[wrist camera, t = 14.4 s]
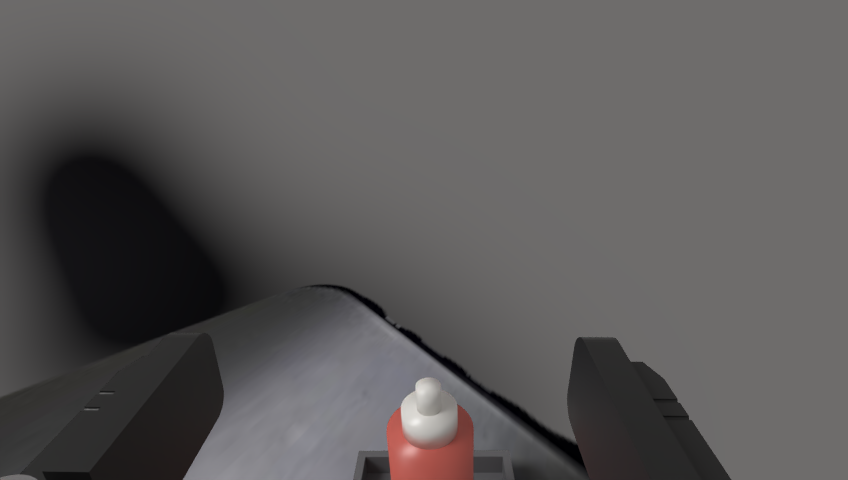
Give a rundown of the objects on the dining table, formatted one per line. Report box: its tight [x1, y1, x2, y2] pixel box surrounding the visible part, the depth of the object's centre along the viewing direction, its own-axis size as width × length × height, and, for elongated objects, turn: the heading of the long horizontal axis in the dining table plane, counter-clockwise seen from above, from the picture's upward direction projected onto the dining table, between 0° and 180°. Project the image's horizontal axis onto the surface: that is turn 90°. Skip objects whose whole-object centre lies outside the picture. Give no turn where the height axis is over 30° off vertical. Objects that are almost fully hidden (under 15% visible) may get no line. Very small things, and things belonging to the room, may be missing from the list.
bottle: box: [387, 378, 473, 480], centre depth 28 cm, size 5×5×14 cm
